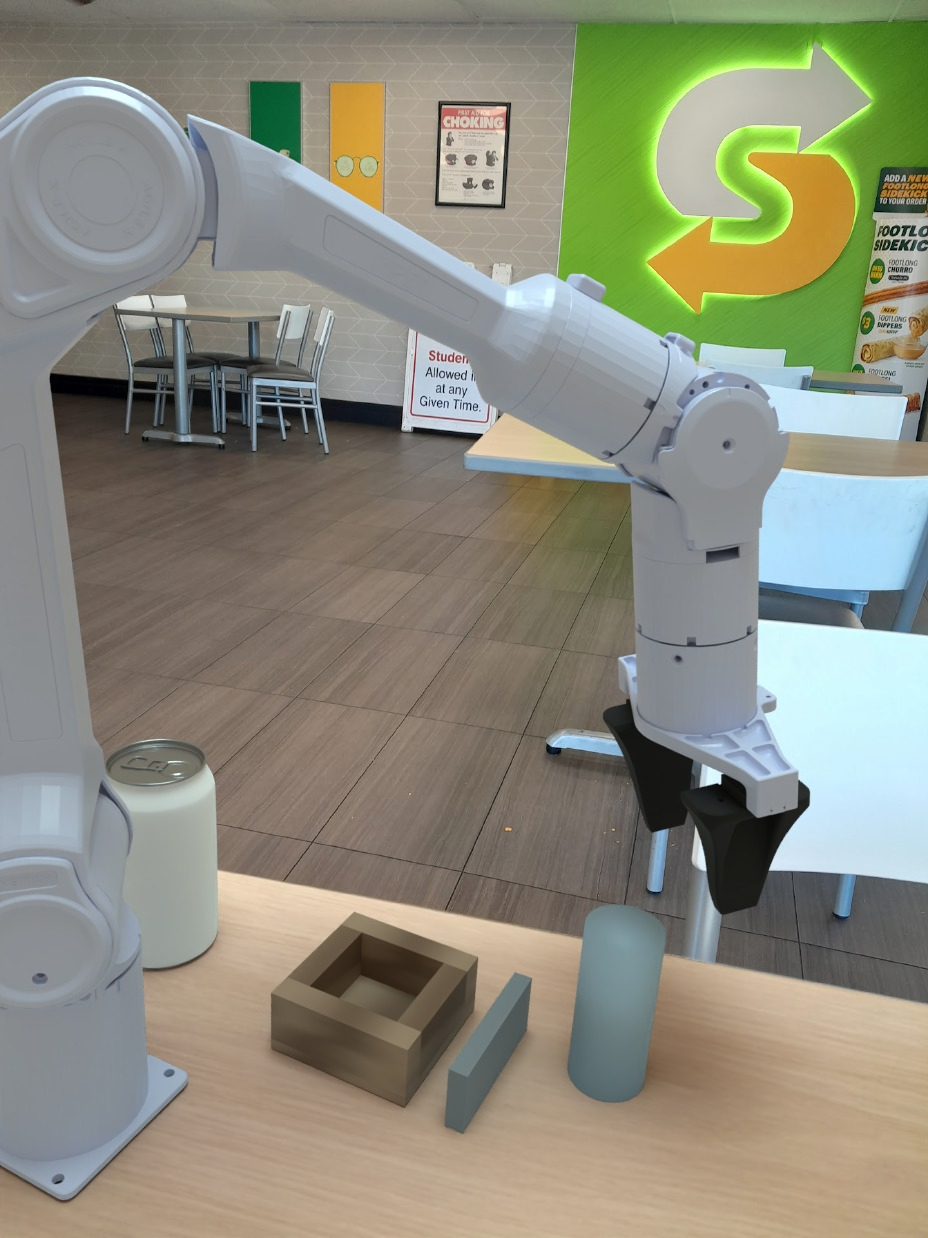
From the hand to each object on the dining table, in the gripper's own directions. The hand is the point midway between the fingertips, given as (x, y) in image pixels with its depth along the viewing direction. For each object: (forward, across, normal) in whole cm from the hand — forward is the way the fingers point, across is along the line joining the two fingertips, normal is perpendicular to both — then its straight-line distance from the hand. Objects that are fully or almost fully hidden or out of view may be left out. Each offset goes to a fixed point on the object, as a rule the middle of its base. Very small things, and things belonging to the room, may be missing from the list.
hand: (698, 863), depth 52 cm
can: (+6, +13, +29) cm, 32 cm away
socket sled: (+8, +3, +18) cm, 20 cm away
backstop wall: (+9, -1, +13) cm, 15 cm away
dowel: (+10, -2, +7) cm, 12 cm away
